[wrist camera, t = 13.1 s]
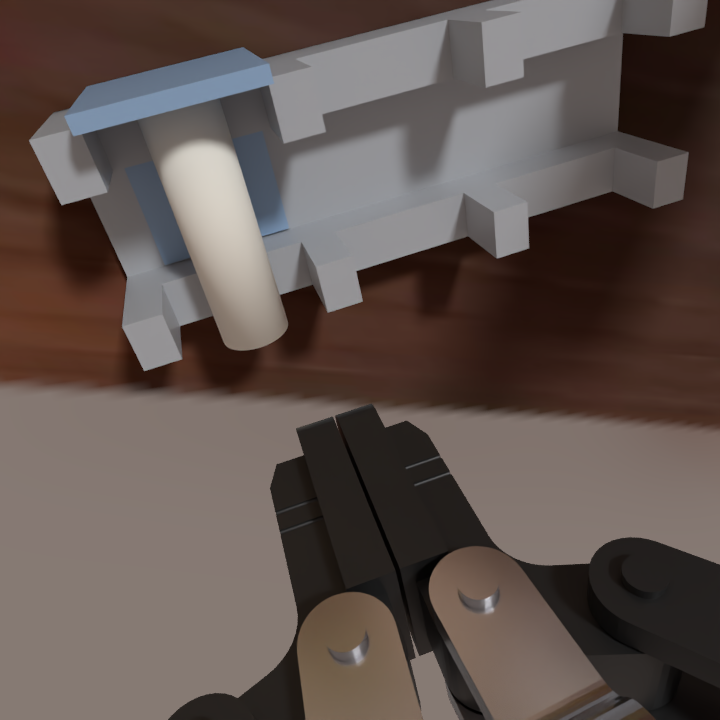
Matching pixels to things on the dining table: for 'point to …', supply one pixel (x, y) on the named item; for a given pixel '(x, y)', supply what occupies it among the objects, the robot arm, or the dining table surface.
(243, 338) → the cream cylindrical rod
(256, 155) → the white peg rack
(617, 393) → the dining table surface
